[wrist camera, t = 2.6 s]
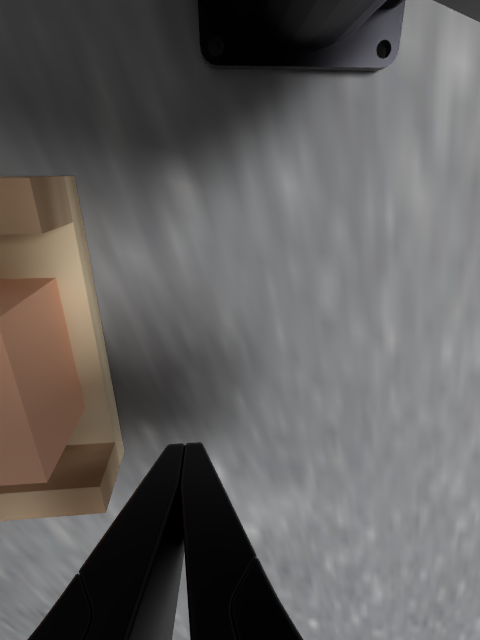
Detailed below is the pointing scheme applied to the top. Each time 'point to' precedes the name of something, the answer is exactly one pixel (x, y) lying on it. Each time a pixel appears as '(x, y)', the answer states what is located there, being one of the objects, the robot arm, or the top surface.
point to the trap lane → (85, 336)
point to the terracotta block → (35, 381)
